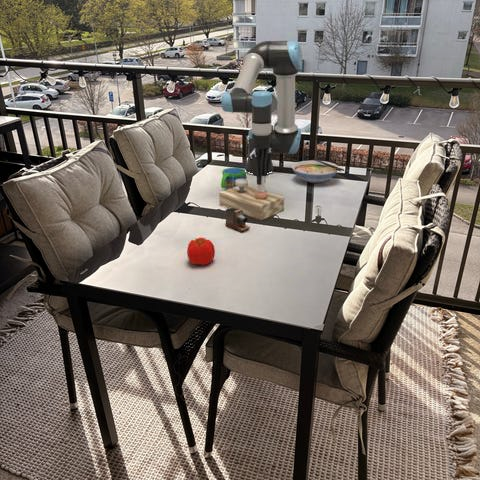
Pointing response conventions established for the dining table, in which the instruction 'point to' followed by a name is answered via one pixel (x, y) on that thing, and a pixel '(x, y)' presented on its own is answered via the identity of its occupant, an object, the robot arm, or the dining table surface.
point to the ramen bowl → (315, 170)
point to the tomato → (200, 251)
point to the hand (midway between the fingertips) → (260, 191)
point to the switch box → (252, 202)
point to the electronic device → (236, 220)
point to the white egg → (241, 184)
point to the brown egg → (260, 195)
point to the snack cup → (232, 177)
